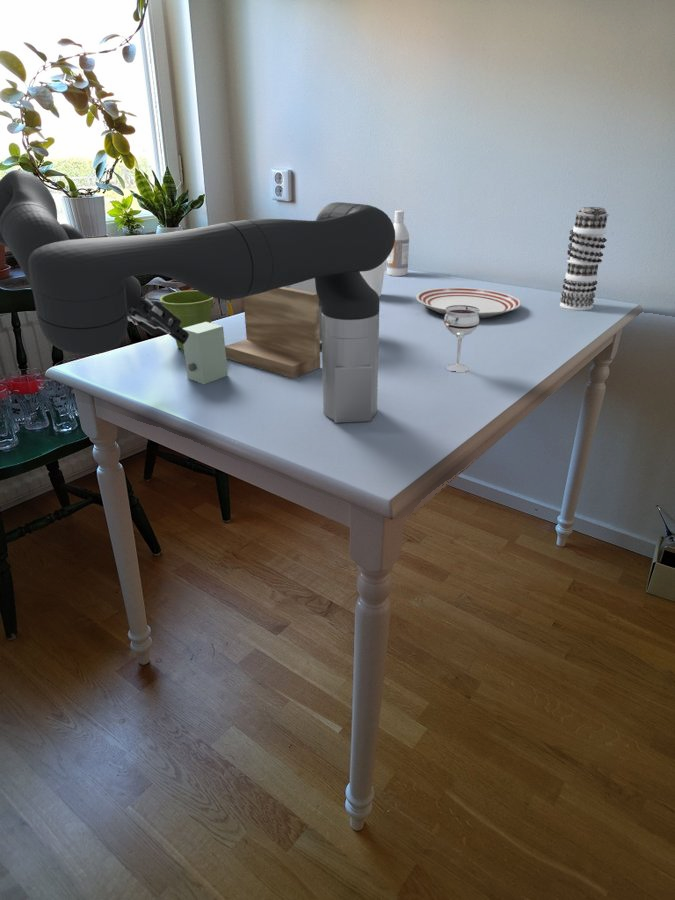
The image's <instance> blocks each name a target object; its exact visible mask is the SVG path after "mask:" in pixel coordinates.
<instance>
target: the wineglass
mask: <svg viewBox="0 0 675 900" xmlns="http://www.w3.org/2000/svg"><path fill="white" fill-rule="evenodd" d="M445 310H446V312H447V313H446V315H444V317H443V323H444V327H445V328H446V329H447V330H448V331H449V333H450V334H452V335H455V338H457V352H456V353H457V354H456V363H451V365H450V364H447V365H448V366H447V365H446V366H447V369H449V370H452V371H456V372H455V373H466V372H465V371H467V370H469V368H470V366H468V365H465V364H461V363H460V359H461V358H460V355H461V349H462V341H463V339H464V338H465V336H468V335H470V334H471V333H473V332H474V331H475V330H476V329H477V328H478V327H479V324H480V318H479V316H478V313H479V311H480V309H479V308H477V307H474V306H468V305H453V306H448V307H446V308H445ZM469 371H470V370H469ZM467 372H468V371H467Z"/></svg>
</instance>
